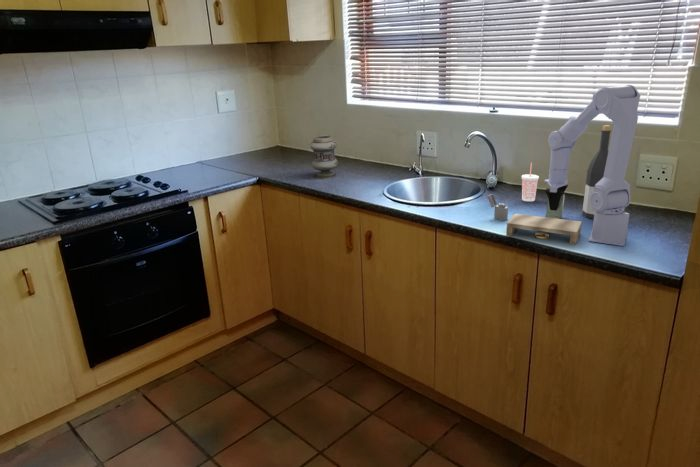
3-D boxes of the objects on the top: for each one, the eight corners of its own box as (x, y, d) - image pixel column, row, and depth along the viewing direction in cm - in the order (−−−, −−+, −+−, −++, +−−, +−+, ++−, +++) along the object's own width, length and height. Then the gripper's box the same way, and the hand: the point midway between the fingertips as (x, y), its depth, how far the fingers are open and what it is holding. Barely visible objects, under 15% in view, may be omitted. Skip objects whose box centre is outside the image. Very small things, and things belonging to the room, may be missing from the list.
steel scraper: (563, 217, 177) (565, 194, 175) (554, 231, 165) (557, 207, 162) (546, 215, 180) (548, 192, 177) (536, 229, 168) (538, 205, 165)
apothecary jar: (309, 174, 248) (307, 135, 242) (334, 171, 251) (332, 133, 245) (316, 180, 237) (313, 139, 231) (341, 176, 240) (339, 137, 234)
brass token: (549, 236, 162) (550, 233, 162) (547, 240, 159) (547, 237, 159) (536, 234, 164) (536, 231, 164) (533, 238, 161) (533, 235, 161)
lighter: (507, 219, 177) (509, 196, 175) (505, 220, 176) (506, 197, 174) (488, 215, 182) (489, 193, 179) (486, 216, 181) (487, 194, 178)
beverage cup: (518, 201, 196) (520, 164, 191) (521, 196, 201) (524, 160, 196) (535, 202, 193) (538, 165, 188) (538, 198, 198) (541, 161, 193)
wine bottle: (576, 213, 180) (587, 125, 169) (595, 210, 182) (606, 122, 172) (594, 220, 173) (606, 128, 162) (613, 217, 175) (626, 126, 165)
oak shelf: (580, 233, 162) (581, 221, 161) (575, 244, 154) (576, 232, 153) (514, 225, 172) (514, 213, 170) (506, 235, 164) (507, 222, 162)
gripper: (550, 162, 180) (546, 200, 185) (541, 171, 168) (538, 212, 173) (572, 163, 176) (568, 202, 181) (565, 173, 165) (560, 215, 170)
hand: (554, 207), depth 177 cm, fingers open, 5 cm apart
